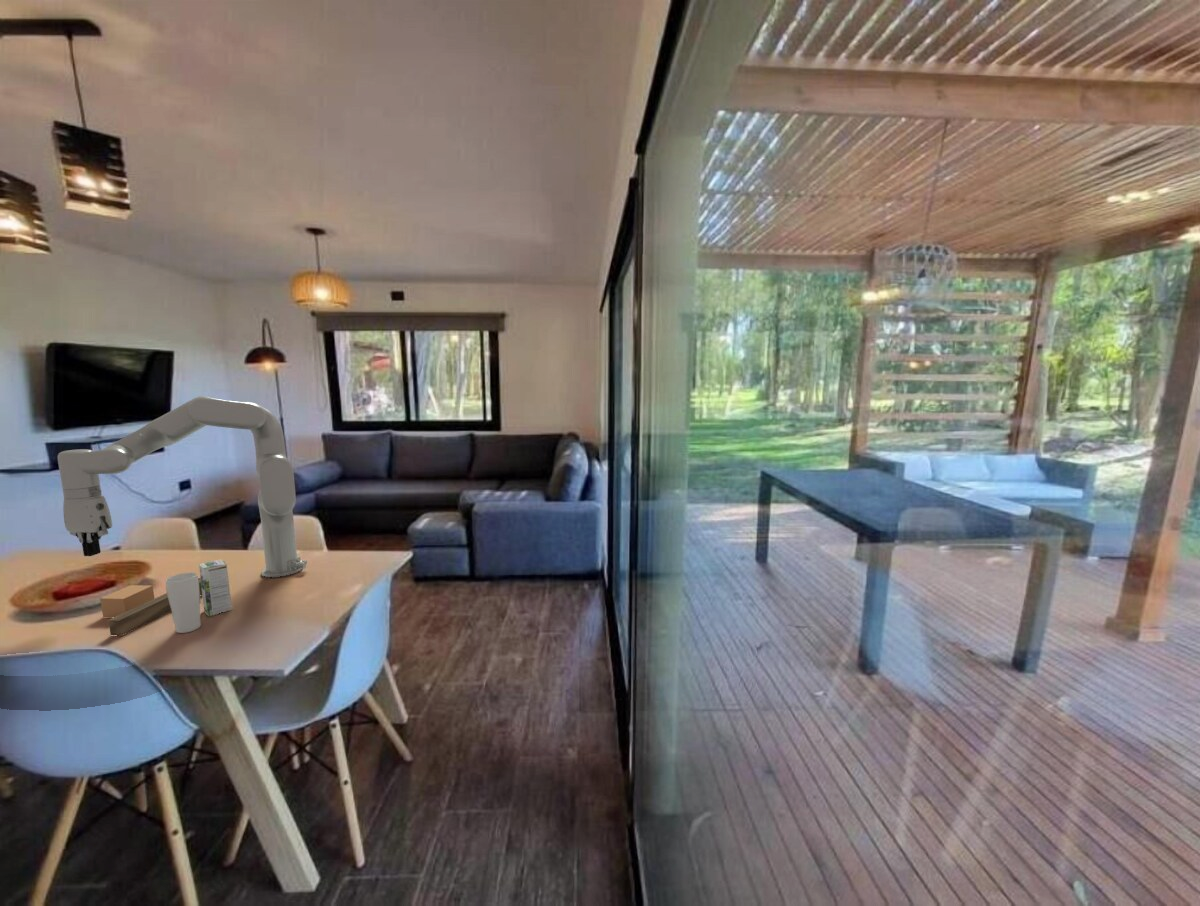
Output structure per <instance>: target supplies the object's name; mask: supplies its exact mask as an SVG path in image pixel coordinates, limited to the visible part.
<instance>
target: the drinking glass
mask: <svg viewBox="0 0 1200 906" xmlns="http://www.w3.org/2000/svg"><path fill="white" fill-rule="evenodd" d="M198 578H199V576H198V573H196V572H183V573H178V574H174V575H172V576H169V577H167V578H166V579H165V589H166V590H165V591H166V593H167V596H168V600H169V604H170V608H171V611H170V612H171V614H172V619H173V623H174V628H175V632H176V633H179V634H187V633H191V632H194V631H196V630H198V629H200V627H201V623H202V622H201V605H200V604H201V603H200V602H201V601H200V599H201V596H200V591H199V581H198Z"/></svg>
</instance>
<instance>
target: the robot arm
mask: <svg viewBox="0 0 1200 906" xmlns="http://www.w3.org/2000/svg"><path fill="white" fill-rule="evenodd" d="M206 426H209V427H210V426H211V427H217V428H227V429H238V430H246V431H247V430H250V432H251V433H252V436H253V440H254V448H255V463H256V465H255V467H256V472H257V474H258V475H259V484H260V489H259V490H258V494H257V505H258V509H259V510H258V511H259V516H260V517H259V518H260V523H261V533H262V545H263V553H264V564H265V567H264V568H262V570H261V571H260V574H261V576H262V577H264V576H265V577H264V578H270V577H272V578H281V577H280V576H282V577H287V576H291V575H293V574H296V573H298V571H299V572H300V571H302V570H303V569H305V568H306V567H307V565H308V560H301V556H300V555H298V550H297V541H296V531H295V530H296V529H295V519H294V513H293V511H294V510H293V509H294V507H295V505H296V503H297V500H296V499H297V498H296V497H297V495H296V485H295V473H294V467H293V465H292V463H291V461H290V460H289V458H288V457H287V452H286V445H285V435H284V430H283V428H282V426H281V423H280V421H279V420H278V418H277V417H276V416H275V415H274V414H273V412H271V411H270V410H269V409H267V408H265V407H264V406H261V405H260V404H259V403H255V402H252V401H235V400H234V401H233V400H226V399H225V400H224V399H219V398H213V397H211V396H205V395H200V396H197V397H194V398H192V399H191V400H189V401H187V402H185V403H183V404H181V405H179V406H177V407H176V408H173V409H172V410H170V411H168V412H167V413H164V414H163V415H161V416H159V417H157V418H155V419H153V420H152V421H150V422H148V423H147V424H145V425H144V426H142V427H141V428H138V429H137V430H135V431H133V432H132V433H130V434H128V435H125V437H123V438H120V439H118V440H117V441H115V442H113V443H111V444H110V445H108V446H106V447H104V448H103V449H100V450H99V449H97V450H92V449H87V448H86V449H85V448H82V449H81V448H80V449H71V450H69V449H68V450H63V451H61V452H59V453H58V454H57V464H58V469H59V477H60V483H61V487H62V493H63V508H62V509H63V511H62V512H63V521H64V527H65V529H66V531H67V532H69V534H70V536H74V537H77V539H78V541H79V543H81V546H82V552H83V556H84V557H92V556H96V555H99V554H100V553H101V546H100V541H101V538H102V537H104V536H106V535H109V531H108V529H111V528H113V521H112V516H111V512H110V507H109V506H108V502H107V500H106V498H105V497H104V495H102V489H101V483H100V476H99V475H117V474H120V473H121V474H122V473H124V472H126V471H127V470H128V469H130V467H131V465H132V464H134V463H135V462H137V461H139V460H141V459H143V458H144V457H146V456H148V455H149V454H152V453H153V452H155V451H157V450H160V449H162V448H164V447H168V446H172V445H174V444H177V443H179V442H180V441H182V440H184V439H185V438H186V437H188V436H190V435H192V434H194V433H195V432H197V431H199V430H201V429H203V428H205V427H206ZM301 569H302V570H301ZM290 574H291V575H290ZM286 575H287V576H286Z"/></svg>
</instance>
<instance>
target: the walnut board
mask: <svg viewBox="0 0 1200 906" xmlns="http://www.w3.org/2000/svg"><path fill="white" fill-rule="evenodd" d="M198 581H199V591H200V595H202V587H201V577H198ZM154 598H155V599H153V600H151V601H148V602H146V603H144V604H142V605H140V606H138V607H136V608H133V609H131V610H129V611H127V612H125V613H123V614H120V615H118V616H116V617H114V618H109V619H108V620H107V621H108V627H109V633H110V636H111V635H117V636H116V637H123V636H124V635H123V634H125V633H127V634H129V633H131V632H133V631H135V630H137V629H139V628H141V627H143V626H145V625H146V624H148V623H151V622H152V621H155V620H156V619H158V618H160V617H162V616H164V615H166V614H168V613H171V612H172V611H171V608H170V604H169V600H168V596H167V592H165V593H164V594H162V595H159V596H158V597H154ZM136 628H137V629H136ZM134 629H135V630H134ZM132 630H133V631H132ZM130 631H131V632H130ZM128 632H129V633H128ZM122 635H123V636H122ZM125 635H126V634H125Z"/></svg>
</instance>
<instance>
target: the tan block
mask: <svg viewBox="0 0 1200 906" xmlns="http://www.w3.org/2000/svg"><path fill="white" fill-rule="evenodd" d="M155 598H156V597H155V594H154V586H153V585H141V584H139V585H133V584H130V585H128V586H125V587H123V588H120V589H118V590H116V591H113V592H111V593H109V594H107V595H105V596H102V597H100V598H99V600H100V606H101V612H102V618H103V617H116V616H118V615H120V614H123V613H125V612H127V611H129V610H131V609H133V608H136V607H138V606H140V605H142V604H144V603H146V602H148V601H151V600H153V599H155Z"/></svg>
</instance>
